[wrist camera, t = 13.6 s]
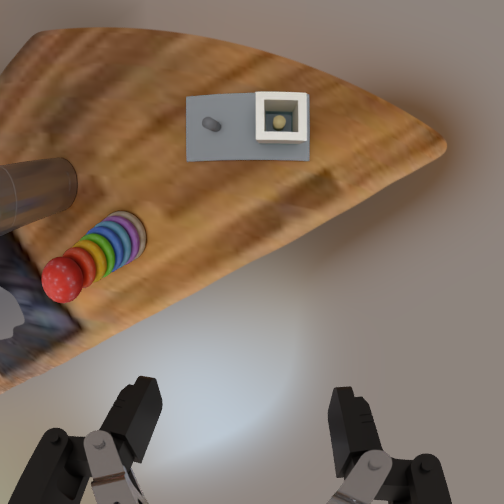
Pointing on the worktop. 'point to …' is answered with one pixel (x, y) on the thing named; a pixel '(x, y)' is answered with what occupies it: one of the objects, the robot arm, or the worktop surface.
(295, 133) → the sleeve
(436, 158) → the worktop surface
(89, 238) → the stacking toy
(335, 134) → the worktop surface
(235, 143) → the pin board
